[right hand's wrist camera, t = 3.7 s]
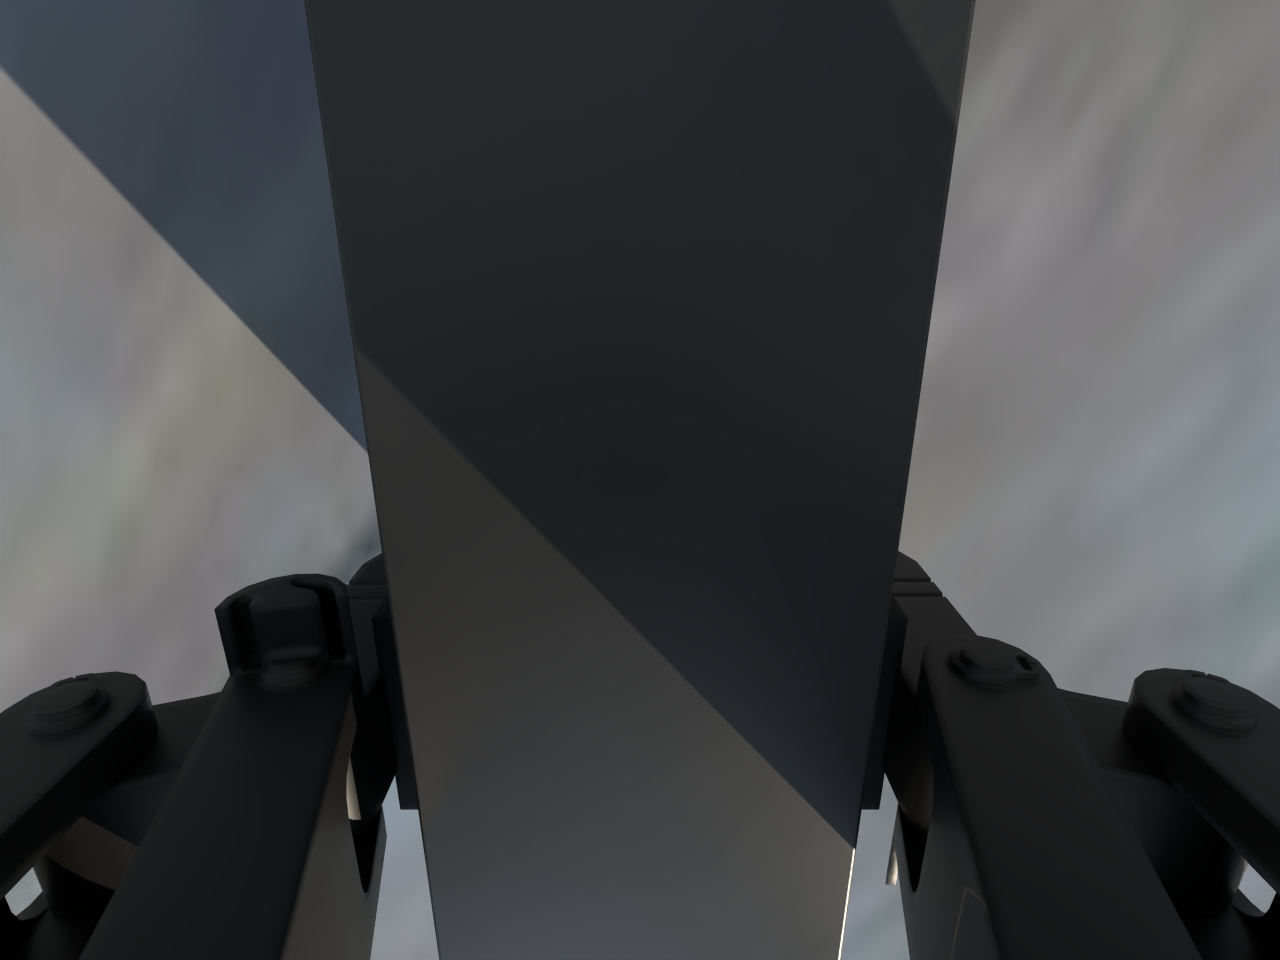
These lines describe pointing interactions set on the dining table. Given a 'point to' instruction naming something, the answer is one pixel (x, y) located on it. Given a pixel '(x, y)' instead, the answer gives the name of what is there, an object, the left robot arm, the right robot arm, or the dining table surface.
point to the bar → (639, 439)
